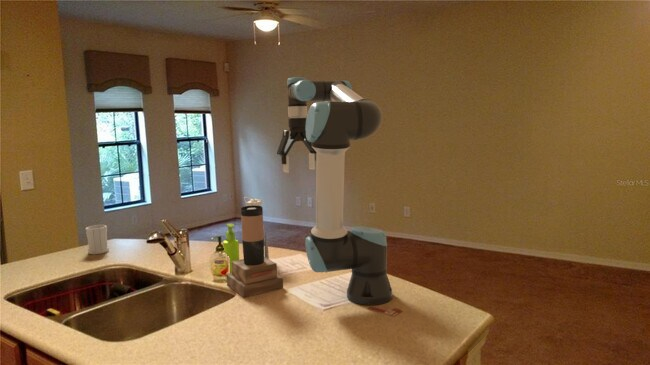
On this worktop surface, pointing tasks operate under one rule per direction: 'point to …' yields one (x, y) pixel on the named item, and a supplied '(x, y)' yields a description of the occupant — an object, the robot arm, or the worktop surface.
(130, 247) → the worktop surface
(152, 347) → the worktop surface
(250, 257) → the travel mug
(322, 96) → the robot arm
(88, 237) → the cup
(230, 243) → the soap dispenser
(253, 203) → the white twisted vase
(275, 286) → the stack of brown boxes
